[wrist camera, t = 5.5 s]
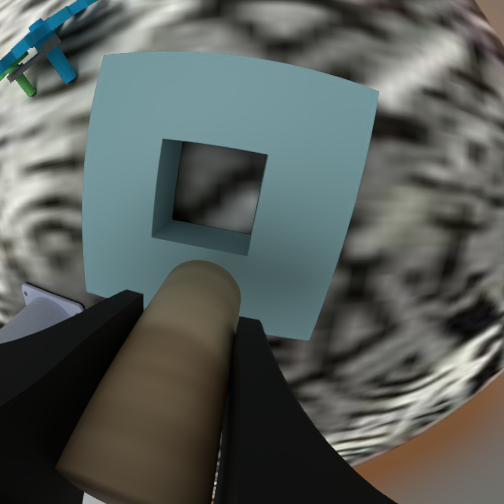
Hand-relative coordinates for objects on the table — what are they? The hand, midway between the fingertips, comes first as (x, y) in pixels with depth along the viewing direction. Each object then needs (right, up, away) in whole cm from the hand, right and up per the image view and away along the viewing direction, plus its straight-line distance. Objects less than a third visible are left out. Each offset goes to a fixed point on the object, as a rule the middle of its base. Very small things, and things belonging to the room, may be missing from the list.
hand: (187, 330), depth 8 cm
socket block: (0, +6, +8) cm, 10 cm away
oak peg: (0, +1, +2) cm, 2 cm away
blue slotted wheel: (-12, +18, +4) cm, 22 cm away
